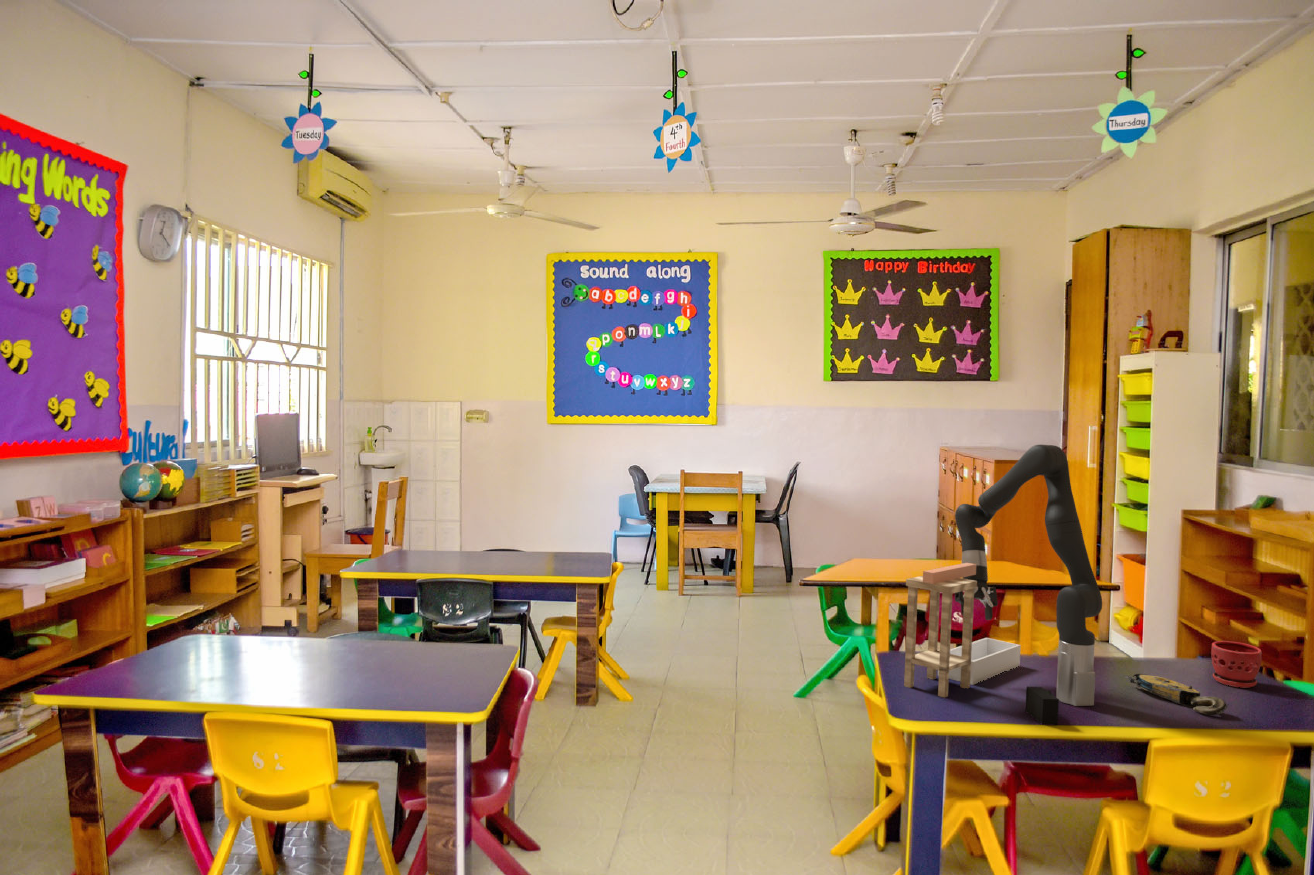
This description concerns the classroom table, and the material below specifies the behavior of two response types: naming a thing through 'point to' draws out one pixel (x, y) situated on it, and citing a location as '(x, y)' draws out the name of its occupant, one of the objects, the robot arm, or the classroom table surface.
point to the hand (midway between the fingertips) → (977, 618)
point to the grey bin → (988, 659)
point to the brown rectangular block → (949, 573)
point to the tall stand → (943, 657)
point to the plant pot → (1235, 663)
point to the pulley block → (1179, 694)
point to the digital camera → (1042, 705)
